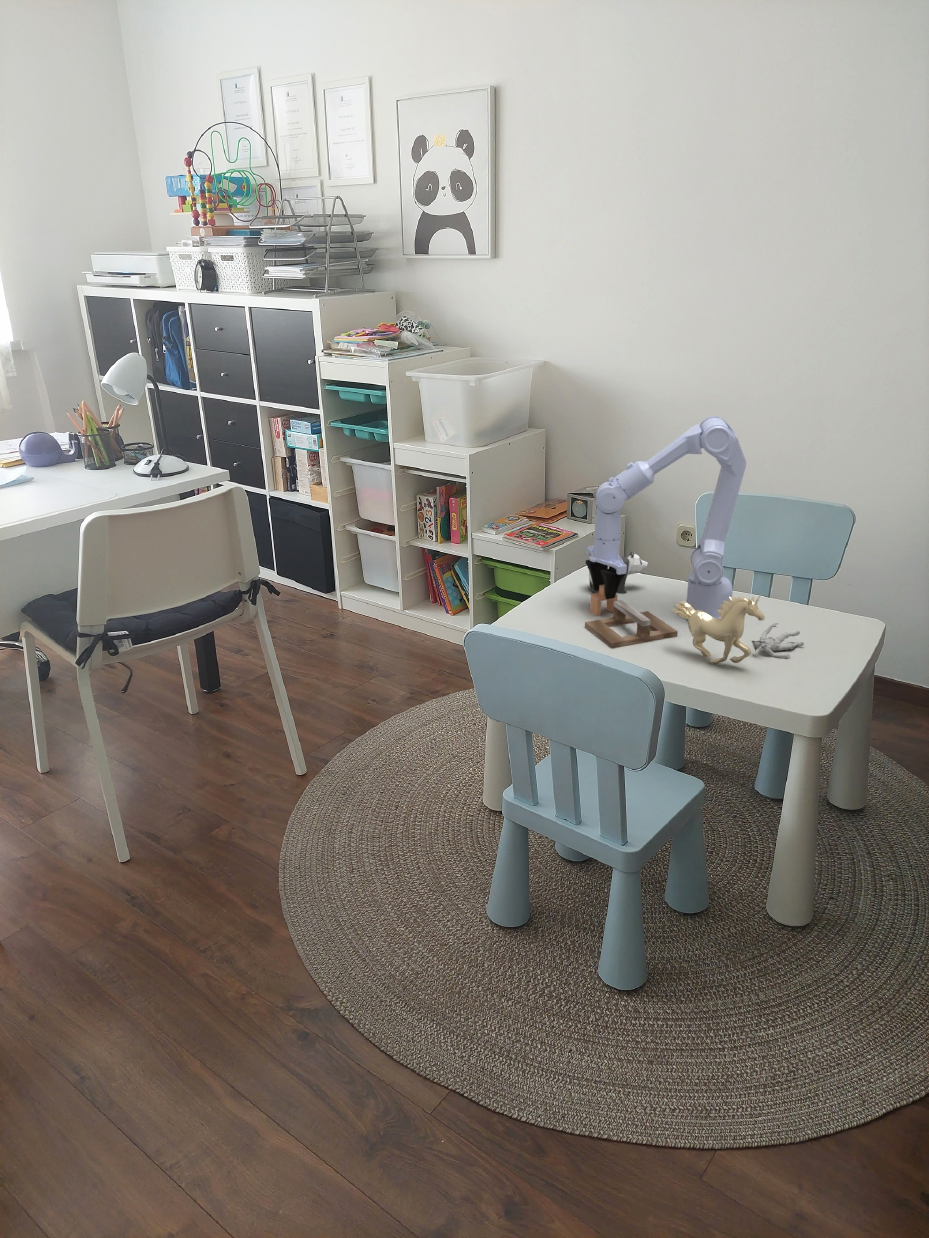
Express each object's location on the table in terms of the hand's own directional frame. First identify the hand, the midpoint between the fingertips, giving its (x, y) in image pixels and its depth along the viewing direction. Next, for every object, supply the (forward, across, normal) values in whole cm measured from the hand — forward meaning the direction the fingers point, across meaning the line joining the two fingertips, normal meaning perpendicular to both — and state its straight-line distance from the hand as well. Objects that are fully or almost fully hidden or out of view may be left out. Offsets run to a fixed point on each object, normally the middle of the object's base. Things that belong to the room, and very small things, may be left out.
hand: (604, 593), depth 203 cm
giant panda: (+5, -11, +9) cm, 15 cm away
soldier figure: (+5, +32, +23) cm, 40 cm away
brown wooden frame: (+4, +12, 0) cm, 13 cm away
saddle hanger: (+4, 0, 0) cm, 4 cm away
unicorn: (+5, +31, +7) cm, 32 cm away
